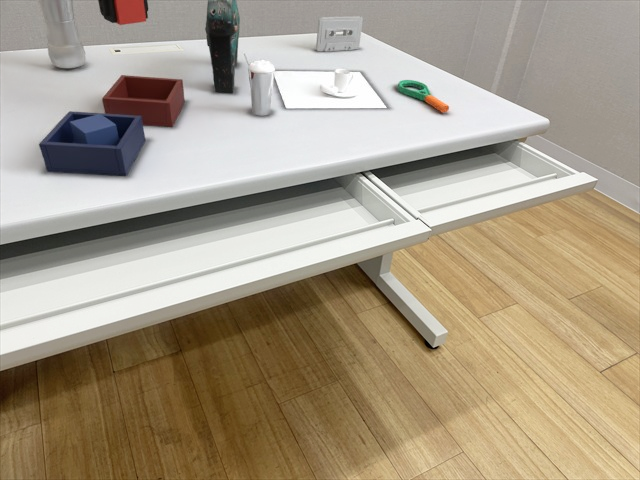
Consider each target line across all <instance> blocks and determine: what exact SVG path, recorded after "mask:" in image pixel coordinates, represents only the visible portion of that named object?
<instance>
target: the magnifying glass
mask: <svg viewBox="0 0 640 480" xmlns="http://www.w3.org/2000/svg"><path fill="white" fill-rule="evenodd" d="M407 87H415V88H419V90H418V89H410V88H407ZM428 87H429V86H428V85H427V84H425V83H424V82H421V81H418V80H413V79H403V80H400V81H399V82H398V84H397V90H398V91H399V92H400V93H401V94H403V95H406V96H409V97H412V98H415V99H418V100H421V101H423V102H425V103H427V104H429V105H430V106H431V107H433V108H435V109H436V110H437V111H439V112H440V113H447V112H448V111H449V110H450V106H449V105H448V104H447V103H445V102H443V101H441V100H440V99H439V98H437V97H435V96H434V95H432V94H431V92H430V89H429V88H428Z"/></svg>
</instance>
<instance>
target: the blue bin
mask: <svg viewBox="0 0 640 480" xmlns="http://www.w3.org/2000/svg"><path fill="white" fill-rule="evenodd" d="M98 114H101V115H103V116H104V117H106V118H107V119H109V120H110V121H111V122H113V123H114V124H116V127H117V132H118V137H119V143H118V145H117V146H110V145H93V144H76V143H75V140H74V137H73V133H72V129H71V125H70V121H74V120H78V119H82V118H86V117H90V116H94V115H98ZM145 143H146V135H145V129H144V125H143V121H142V116H135V115H119V114H105V112H104V113H102V112H88V111H74V110H73V111H72V110H69V111H68V112H67V113H66V114H65V115H64V116H63V117H62V118H61V119H60V120H59V122H58V123H57V124H56V125H55V126H54V127H53V128H52V129H51V130H50V131H49V132H48V134H46V136H45V137H44V138H43V139H42V140H41V141H40V142H39V143H38V146H39V149H40V153H41V155H42V159H43V162H44V165H45V169H46V172H50V173H51V172H52V173H67V174H69V173H71V174H84V175H85V174H86V175H103V176H105V175H107V176H121V177H123V176H124V177H126V176H127V175H128V174H129V172H130V170H131V168H132V166H133V165H134V163H135V161H136V159H137V158H138V155H139V154H140V153H141V150H142V148H143V146H144V145H145Z"/></svg>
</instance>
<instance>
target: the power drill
mask: <svg viewBox="0 0 640 480" xmlns="http://www.w3.org/2000/svg"><path fill="white" fill-rule="evenodd" d="M205 20H206V21H205V28H204V29H205V33H206V46H207V47H208V50H209V56H210V62H211V68H212V77H213V78H212V81H213V88H214V91H215V93H220V94H222V93H223V94H233V93H234V90H235V75H236V67H237V66H238V56H239V55H238V53H239V39H240V22H241V16H240V11H239V8H238V3H237V0H207V6H206V19H205Z"/></svg>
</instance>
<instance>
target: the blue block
mask: <svg viewBox="0 0 640 480" xmlns="http://www.w3.org/2000/svg"><path fill="white" fill-rule="evenodd" d="M70 125H71V129H72V133H73V137H74V140H75V143H76V144H93V145H110V146H117V145H118V143H119V137H118V132H117V127H116V124H114V123H113V122H111V121H110V120H109V119H107V118H106V117H104V116H103V115H101V114H98V115H94V116H90V117H86V118H82V119H78V120H74V121H70Z"/></svg>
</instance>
